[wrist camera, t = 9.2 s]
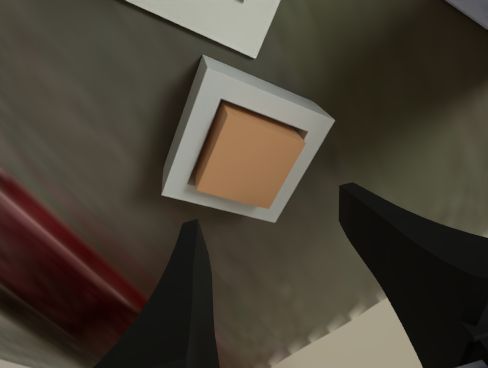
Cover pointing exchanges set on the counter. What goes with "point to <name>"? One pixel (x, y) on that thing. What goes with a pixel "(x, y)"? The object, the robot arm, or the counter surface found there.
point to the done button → (246, 156)
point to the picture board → (220, 19)
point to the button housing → (250, 98)
